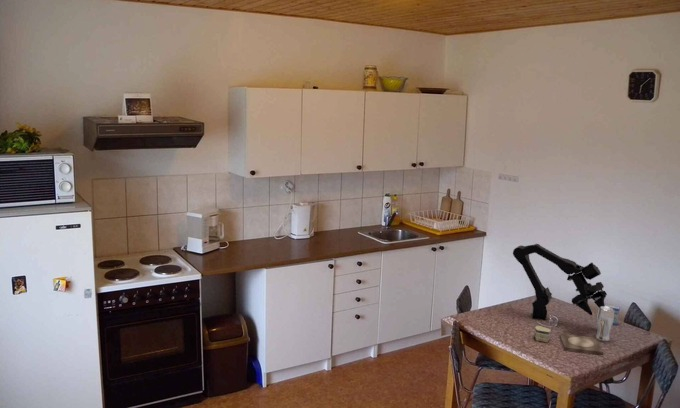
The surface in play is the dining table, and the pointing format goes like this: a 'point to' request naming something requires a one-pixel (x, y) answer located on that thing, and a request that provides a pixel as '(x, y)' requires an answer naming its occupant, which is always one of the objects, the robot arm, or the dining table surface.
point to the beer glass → (604, 322)
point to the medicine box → (615, 313)
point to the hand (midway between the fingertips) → (598, 313)
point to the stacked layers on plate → (542, 333)
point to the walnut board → (581, 344)
